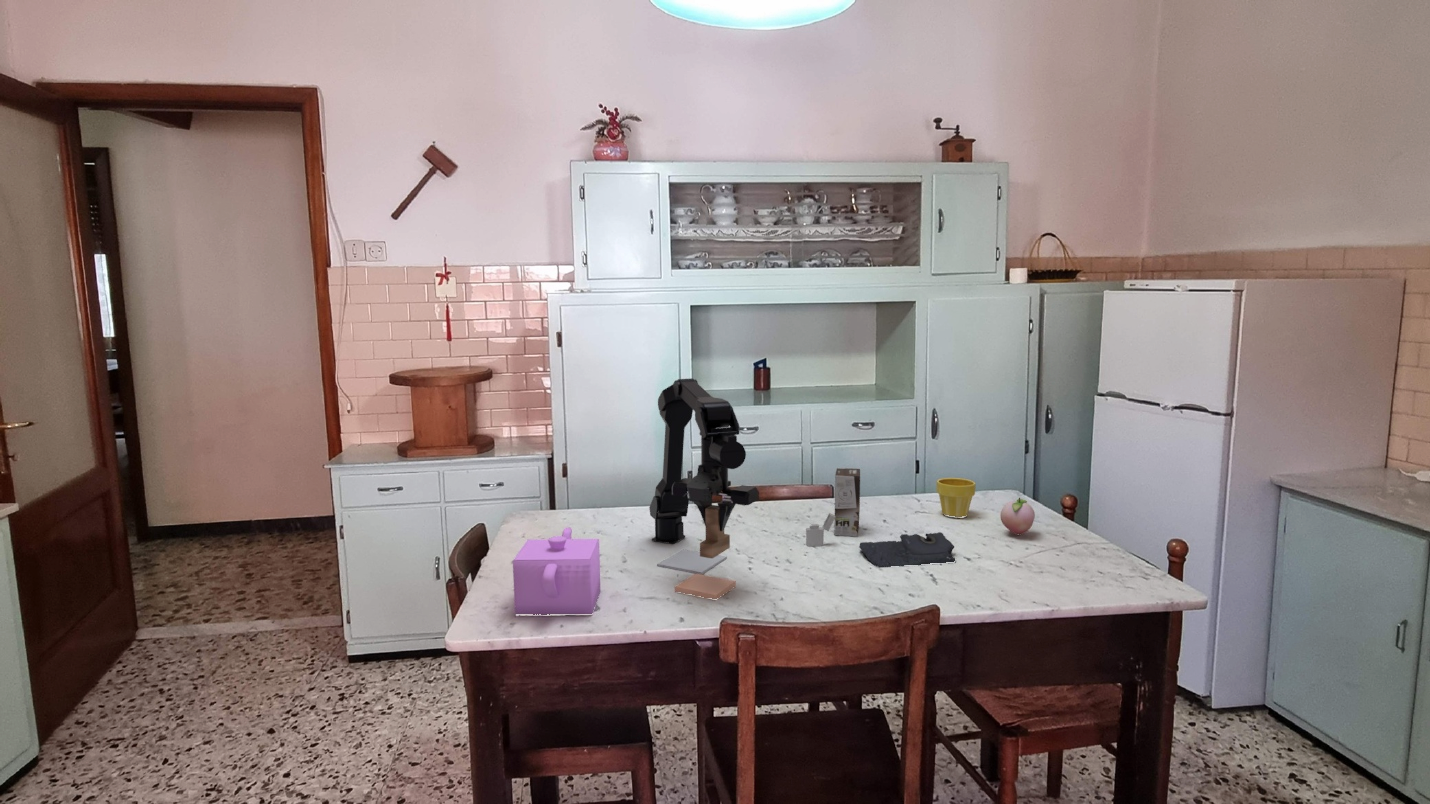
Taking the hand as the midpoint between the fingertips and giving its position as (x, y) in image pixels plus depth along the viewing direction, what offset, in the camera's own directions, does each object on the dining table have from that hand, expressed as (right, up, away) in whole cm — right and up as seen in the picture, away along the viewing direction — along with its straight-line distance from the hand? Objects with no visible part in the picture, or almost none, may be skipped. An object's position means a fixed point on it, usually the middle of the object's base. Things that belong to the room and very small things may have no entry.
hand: (715, 529), depth 174 cm
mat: (-5, -10, +15) cm, 19 cm away
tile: (0, -11, +2) cm, 12 cm away
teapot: (-32, -14, -8) cm, 36 cm away
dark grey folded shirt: (+46, -10, +19) cm, 51 cm away
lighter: (+26, -8, +27) cm, 39 cm away
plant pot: (+68, -4, +52) cm, 85 cm away
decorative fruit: (+78, -7, +34) cm, 86 cm away
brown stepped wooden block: (0, -5, +1) cm, 5 cm away
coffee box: (+35, -7, +38) cm, 52 cm away
